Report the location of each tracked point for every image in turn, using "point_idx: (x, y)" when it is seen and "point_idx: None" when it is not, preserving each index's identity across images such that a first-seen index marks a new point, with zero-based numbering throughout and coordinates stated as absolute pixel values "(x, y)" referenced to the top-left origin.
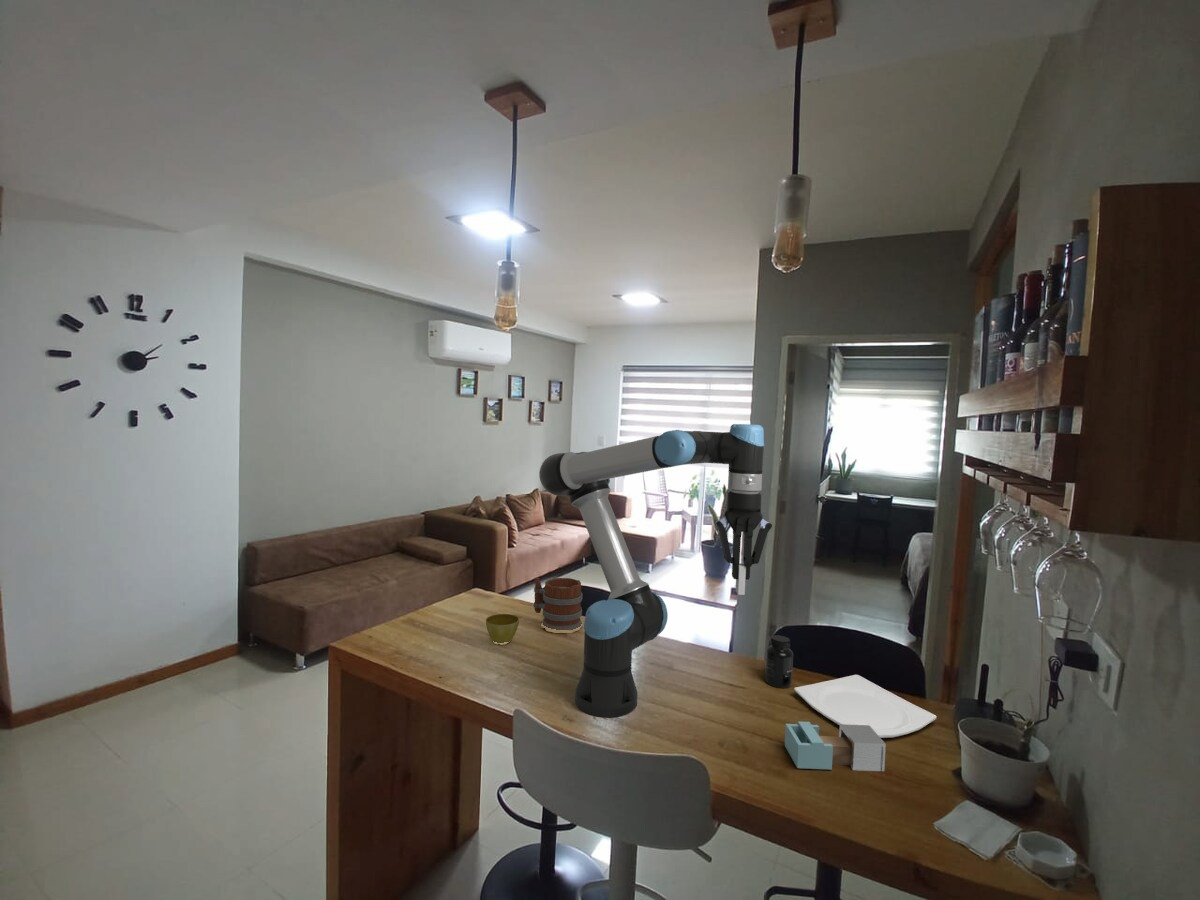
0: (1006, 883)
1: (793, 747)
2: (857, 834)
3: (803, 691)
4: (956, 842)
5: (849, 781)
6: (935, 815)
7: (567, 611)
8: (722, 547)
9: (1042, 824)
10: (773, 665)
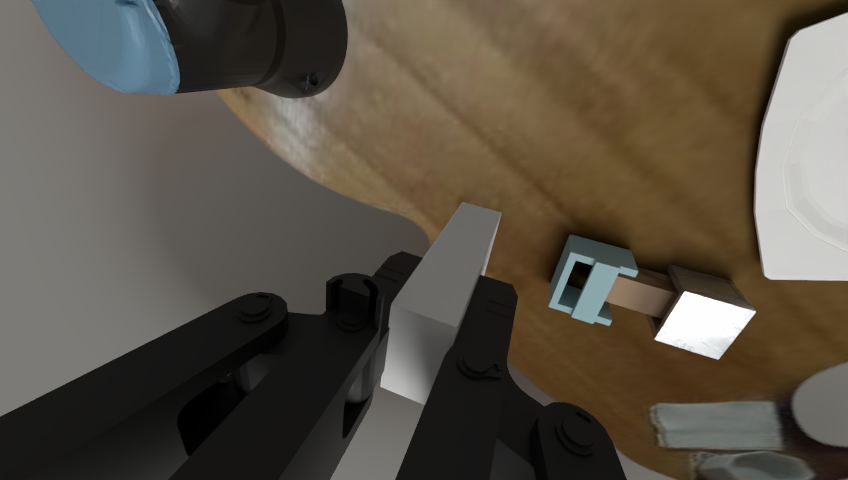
0: (646, 463)
1: (555, 280)
2: (542, 380)
3: (817, 47)
4: (653, 425)
5: (613, 323)
6: (677, 398)
7: None
8: (74, 397)
9: (830, 459)
10: None
